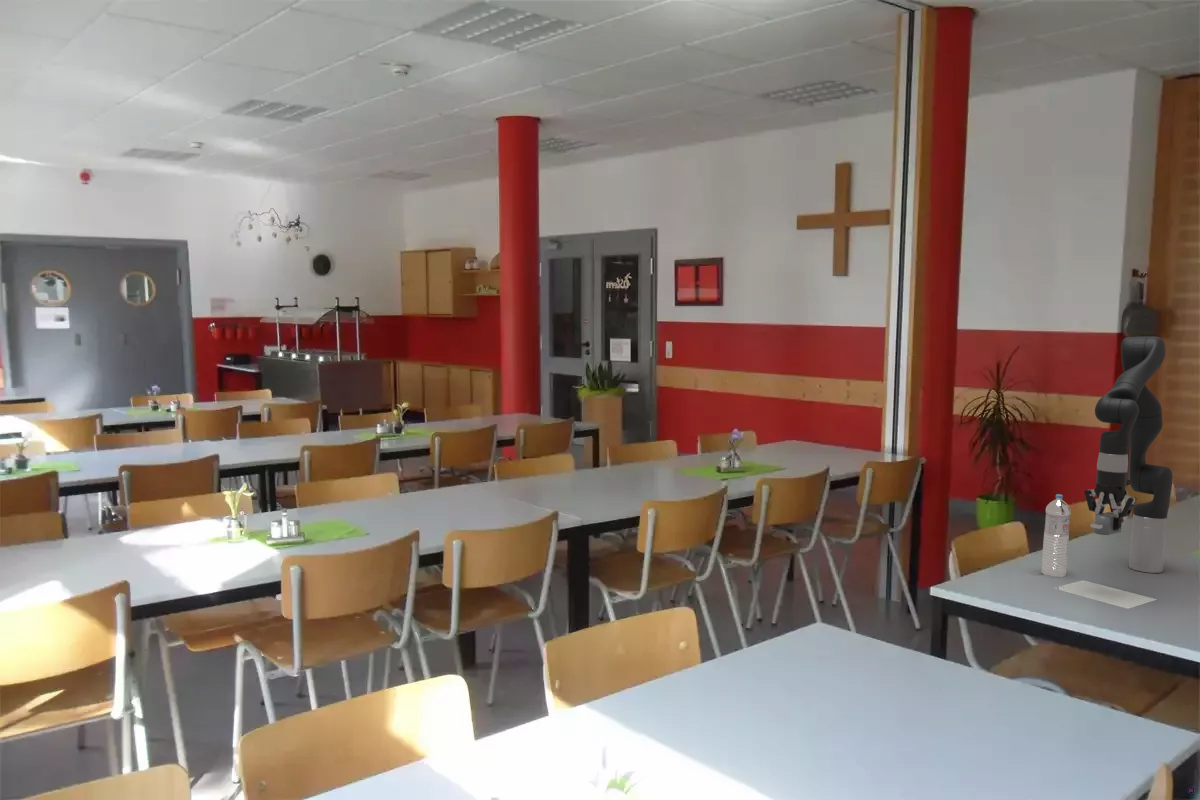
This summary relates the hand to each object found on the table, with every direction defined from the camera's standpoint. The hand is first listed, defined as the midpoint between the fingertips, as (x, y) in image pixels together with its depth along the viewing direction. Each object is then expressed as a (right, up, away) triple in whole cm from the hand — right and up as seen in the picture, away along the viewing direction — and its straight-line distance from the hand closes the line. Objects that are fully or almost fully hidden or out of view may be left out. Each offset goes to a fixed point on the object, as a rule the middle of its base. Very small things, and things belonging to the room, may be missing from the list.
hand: (1107, 528), depth 261 cm
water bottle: (-5, -17, +20) cm, 27 cm away
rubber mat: (-1, -19, +1) cm, 19 cm away
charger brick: (0, -1, 0) cm, 1 cm away
